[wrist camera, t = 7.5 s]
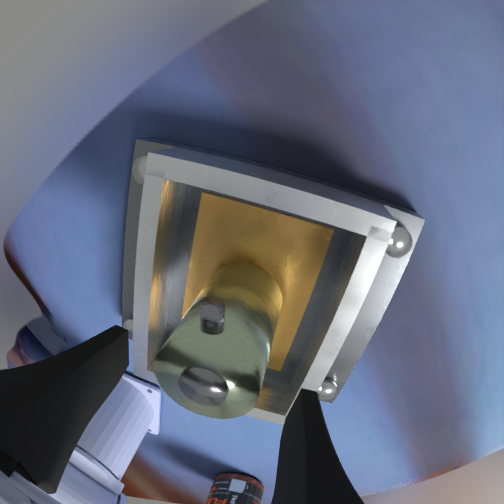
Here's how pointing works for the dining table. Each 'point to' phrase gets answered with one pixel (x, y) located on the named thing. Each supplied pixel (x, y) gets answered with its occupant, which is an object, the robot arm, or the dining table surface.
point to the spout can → (222, 343)
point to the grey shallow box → (261, 260)
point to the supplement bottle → (235, 490)
